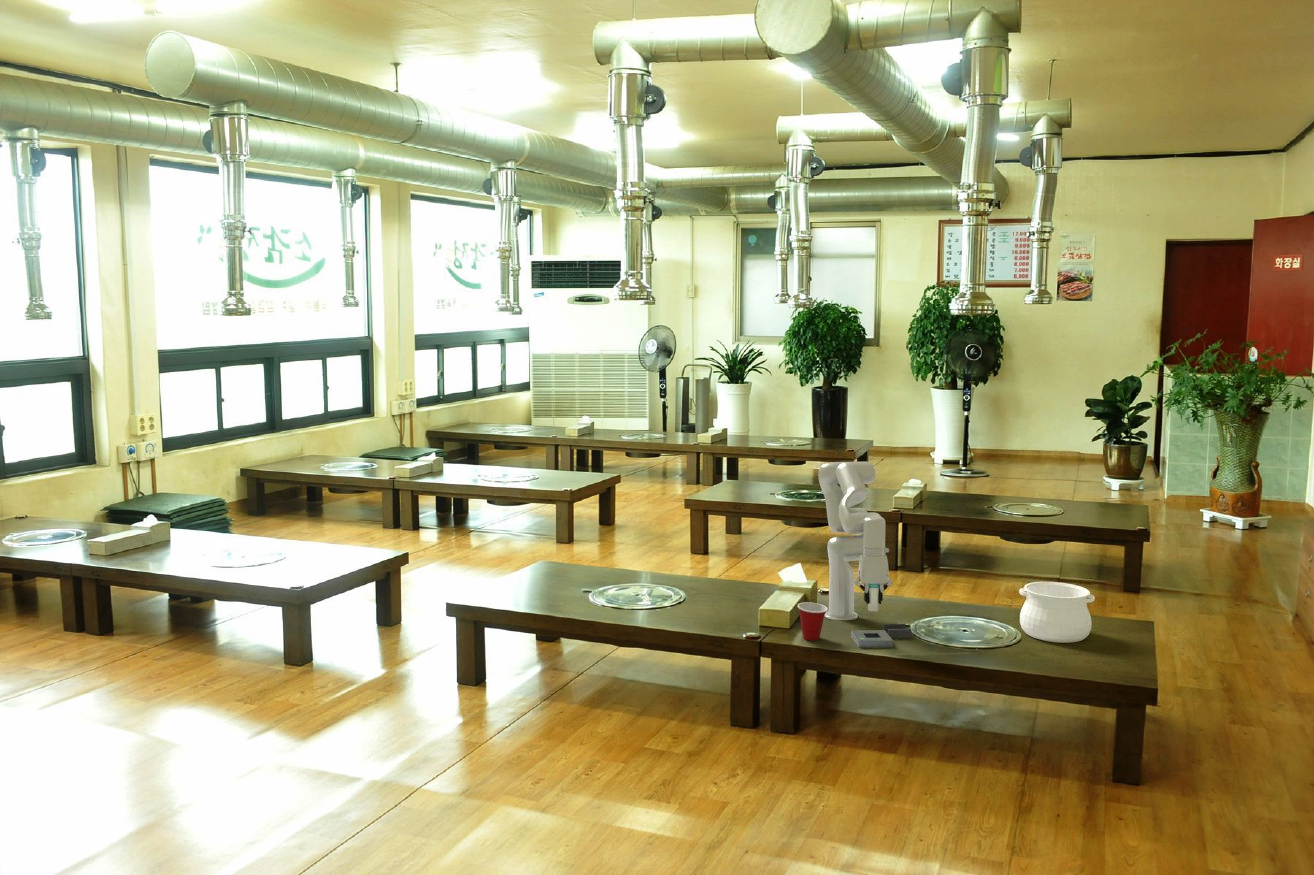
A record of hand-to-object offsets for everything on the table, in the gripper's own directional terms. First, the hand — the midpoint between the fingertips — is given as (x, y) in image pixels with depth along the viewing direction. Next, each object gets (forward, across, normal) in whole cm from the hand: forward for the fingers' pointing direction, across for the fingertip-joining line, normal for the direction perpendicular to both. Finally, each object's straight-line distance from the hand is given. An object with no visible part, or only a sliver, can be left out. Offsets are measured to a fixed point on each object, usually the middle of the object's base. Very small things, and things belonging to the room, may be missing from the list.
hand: (873, 602), depth 368 cm
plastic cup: (+15, +20, -8) cm, 26 cm away
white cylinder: (+3, 0, 0) cm, 3 cm away
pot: (+15, -69, -9) cm, 71 cm away
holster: (+15, -11, -9) cm, 20 cm away
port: (+15, 0, -1) cm, 15 cm away
